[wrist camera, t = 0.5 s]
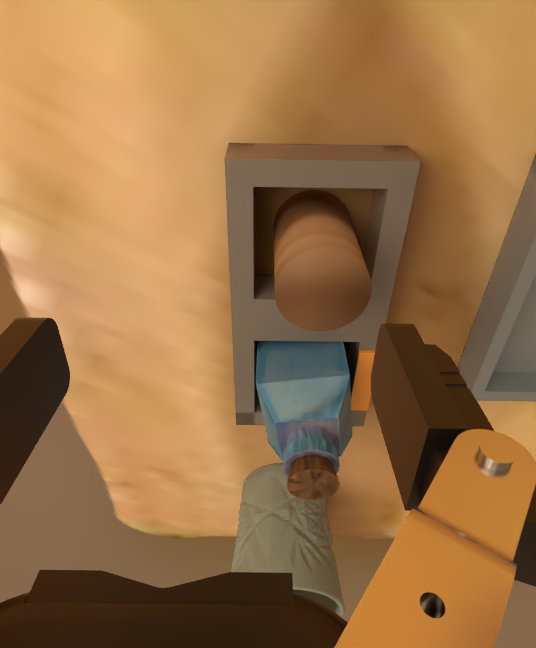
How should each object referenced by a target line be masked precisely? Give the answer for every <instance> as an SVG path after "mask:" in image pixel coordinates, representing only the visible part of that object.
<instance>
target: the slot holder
mask: <svg viewBox="0 0 536 648" xmlns="http://www.w3.org/2000/svg"><path fill="white" fill-rule="evenodd" d="M420 164H421V161H420V160H419V159H418V158H417V157H416V156H415V154H414V153H413V152H412V151H411V150H410V149H409V148H408V146H375V145H312V144H249V143H229V145H228V148H227V152H226V156H225V176H226V199H227V222H228V245H229V268H230V290H231V313H232V336H233V359H234V382H235V405H236V425H265V423H264V419H263V414H262V409H261V405H260V400H259V396H258V391H257V387H256V386H255V341H323V342H350V344H349V350H348V356H347V364H348V368H349V373H350V392H351V417H352V426H363V425H364V420H365V416H366V411H368V408H369V404H370V399H371V372H372V366H373V361H374V355H375V349H376V343H377V338H378V332H379V328H380V326H381V325H382V324H386V320H387V315H388V310H389V306H390V301H391V297H392V292H393V288H394V283H395V278H396V274H397V269H398V265H399V260H400V255H401V251H402V246H403V242H404V237H405V233H406V228H407V223H408V219H409V214H410V210H411V205H412V200H413V196H414V191H415V187H416V182H417V177H418V173H419V168H420ZM255 187H300V188H365V189H375V190H374V196H373V202H372V208H371V215H370V221H369V227H368V233H367V239H366V245H365V252H364V261H365V264H366V267H367V270H368V272H369V275H370V278H371V283H372V292H371V297H370V300H369V303H368V305H367V307H366V308H365V310H364V311H363V312H362V314H361V315H360V316H359V317H358V318H356V319H355V320H354V321H352V322H351V323H349V324H348V325H346V326H343V327H341V328H338V329H335V330H331V331H321V332H318V331H309V330H305V329H302V328H299V327H297V326H295V325H293V324H292V323H290V322H289V321H287V320H286V319H285V318H284V317H283V315H282V314H281V313H280V311H279V309H278V307H277V305H276V301H275V284H274V276H255Z"/></svg>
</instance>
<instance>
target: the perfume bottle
mask: <svg viewBox="0 0 536 648" xmlns="http://www.w3.org/2000/svg"><path fill="white" fill-rule="evenodd" d="M256 387H257V391H258V396H259V400H260V405H261V409H262V414H263V419H264V423H265V428H266V432H267V437H268V441H269V444H270V445H271V446H272V448H273V449H274V450H275V452H276V453H277V454H278V456H279V457H280V458H281V460H282V461H283V465H284V472H285V474H286V475H287V476H288V479H287V489H288V492H289V493H291V494H292V495H293V496H295V497H297V498H300V499H305V500H319V499H324V498H326V497H329V496H331V495H332V494H334V493H335V492H336V491H337V490H338V488H339V484H340V483H339V480H338V477H337V475H336V473H337V472H338V471H339V466H340V465H339V458H338V456H341V455H342V453H343V451H344V450H345V448H346V446H347V444H348V442H349V441H350V439H351V437H352V417H351V392H350V373H349V368H348V364H347V359H346V354H345V349H344V344H343V342H323V341H257V368H256Z"/></svg>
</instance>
